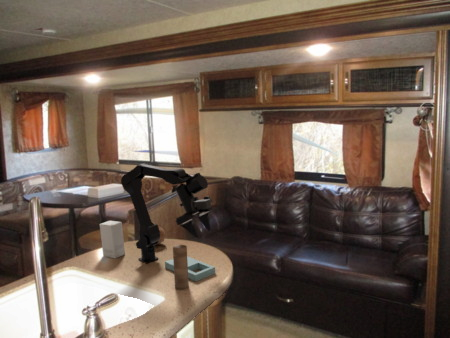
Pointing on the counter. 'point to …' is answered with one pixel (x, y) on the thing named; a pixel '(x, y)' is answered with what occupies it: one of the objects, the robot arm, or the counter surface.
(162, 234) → the onion
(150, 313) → the counter surface
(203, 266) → the socket stand
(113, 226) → the skincare box
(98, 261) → the counter surface
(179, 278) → the pepper mill
